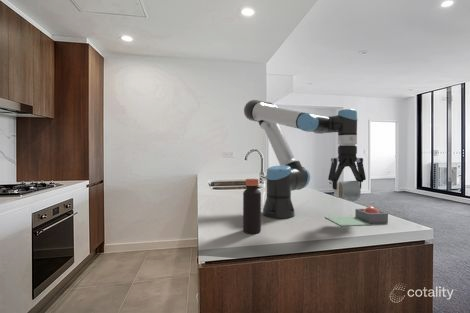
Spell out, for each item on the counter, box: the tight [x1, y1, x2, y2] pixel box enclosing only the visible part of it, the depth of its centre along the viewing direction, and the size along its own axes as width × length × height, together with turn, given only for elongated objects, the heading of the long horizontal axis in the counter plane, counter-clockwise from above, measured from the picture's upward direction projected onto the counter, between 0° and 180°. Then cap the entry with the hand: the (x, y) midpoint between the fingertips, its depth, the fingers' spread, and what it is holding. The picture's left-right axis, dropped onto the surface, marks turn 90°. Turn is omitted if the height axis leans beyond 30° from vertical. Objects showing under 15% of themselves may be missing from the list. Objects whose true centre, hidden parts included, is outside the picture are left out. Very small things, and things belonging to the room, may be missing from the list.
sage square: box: [324, 215, 371, 227], centre depth 106 cm, size 13×13×1 cm
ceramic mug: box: [338, 180, 362, 202], centre depth 103 cm, size 11×8×8 cm
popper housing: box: [354, 208, 389, 224], centre depth 107 cm, size 9×9×4 cm
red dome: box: [363, 205, 380, 214], centre depth 107 cm, size 6×6×5 cm
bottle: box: [242, 178, 262, 235], centre depth 92 cm, size 7×7×20 cm
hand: (346, 196), depth 105 cm, fingers closed on ceramic mug, 9 cm apart
